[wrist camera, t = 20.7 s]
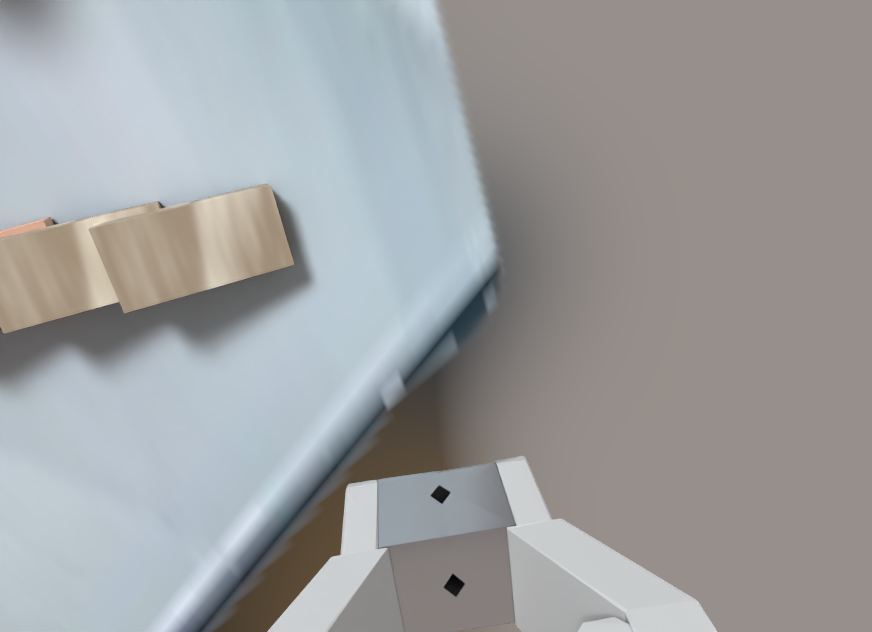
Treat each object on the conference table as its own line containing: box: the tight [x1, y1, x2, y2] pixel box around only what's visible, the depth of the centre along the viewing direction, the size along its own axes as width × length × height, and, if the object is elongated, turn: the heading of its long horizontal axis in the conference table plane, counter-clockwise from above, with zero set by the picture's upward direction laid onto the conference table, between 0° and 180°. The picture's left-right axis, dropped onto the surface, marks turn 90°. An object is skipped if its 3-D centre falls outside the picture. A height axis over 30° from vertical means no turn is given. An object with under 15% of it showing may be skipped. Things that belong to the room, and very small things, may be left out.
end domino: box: [88, 184, 294, 313], centre depth 34 cm, size 2×5×10 cm
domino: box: [0, 201, 161, 334], centre depth 34 cm, size 2×5×10 cm
